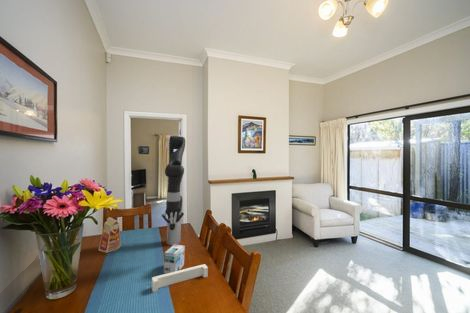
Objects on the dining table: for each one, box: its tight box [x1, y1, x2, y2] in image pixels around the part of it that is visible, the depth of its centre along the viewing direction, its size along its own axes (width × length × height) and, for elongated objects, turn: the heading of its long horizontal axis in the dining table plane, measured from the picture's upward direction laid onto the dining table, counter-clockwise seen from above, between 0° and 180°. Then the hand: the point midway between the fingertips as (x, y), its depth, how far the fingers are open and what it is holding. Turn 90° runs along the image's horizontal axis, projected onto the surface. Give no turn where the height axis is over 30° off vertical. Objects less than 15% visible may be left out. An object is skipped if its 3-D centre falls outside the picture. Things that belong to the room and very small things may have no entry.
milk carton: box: [98, 216, 121, 254], centre depth 127 cm, size 9×9×20 cm
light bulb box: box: [163, 244, 186, 274], centre depth 106 cm, size 11×7×11 cm, turn 168°
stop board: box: [151, 263, 209, 293], centre depth 95 cm, size 4×26×4 cm, turn 121°
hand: (172, 229), depth 113 cm, fingers closed
